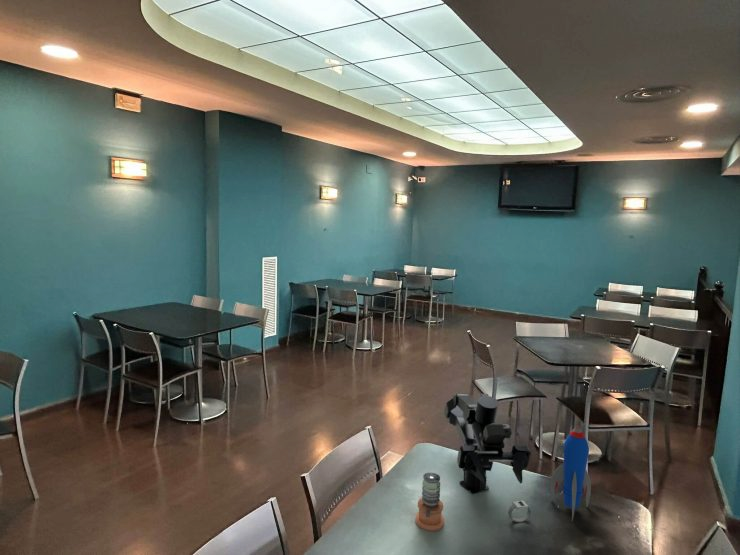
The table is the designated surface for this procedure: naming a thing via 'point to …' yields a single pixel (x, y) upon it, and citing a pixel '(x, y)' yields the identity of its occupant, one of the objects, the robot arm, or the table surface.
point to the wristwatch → (519, 506)
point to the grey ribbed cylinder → (431, 490)
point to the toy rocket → (573, 470)
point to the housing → (430, 517)
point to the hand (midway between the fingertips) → (503, 482)
